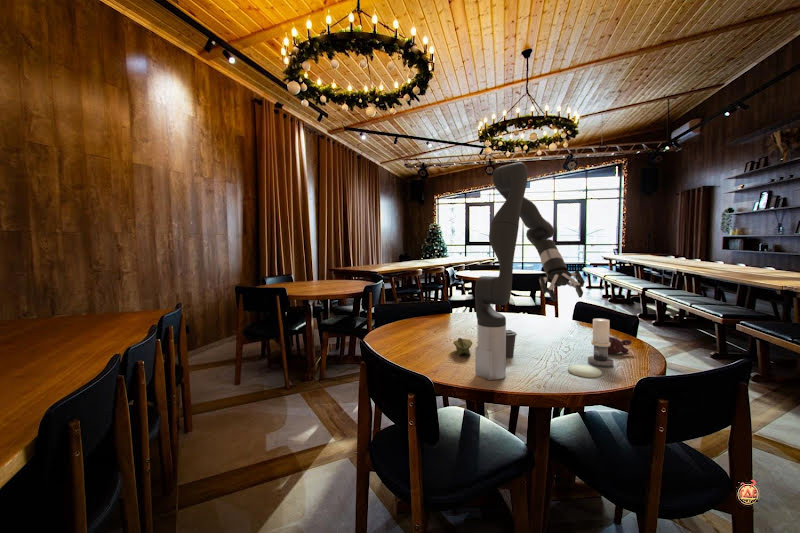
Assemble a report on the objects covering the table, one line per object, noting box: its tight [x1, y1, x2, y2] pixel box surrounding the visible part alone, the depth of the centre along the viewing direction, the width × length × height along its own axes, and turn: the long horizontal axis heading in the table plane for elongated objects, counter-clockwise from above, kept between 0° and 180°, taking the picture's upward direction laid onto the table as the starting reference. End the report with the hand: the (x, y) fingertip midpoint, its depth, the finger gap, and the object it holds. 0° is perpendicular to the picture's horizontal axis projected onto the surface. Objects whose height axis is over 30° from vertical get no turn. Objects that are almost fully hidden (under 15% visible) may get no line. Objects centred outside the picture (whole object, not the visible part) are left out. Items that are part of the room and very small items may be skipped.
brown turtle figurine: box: [608, 336, 633, 356], centre depth 136 cm, size 7×7×15 cm
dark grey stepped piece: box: [587, 345, 614, 368], centre depth 125 cm, size 8×8×7 cm
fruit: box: [452, 337, 473, 356], centre depth 138 cm, size 11×12×7 cm
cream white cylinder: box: [591, 318, 611, 347], centre depth 124 cm, size 6×6×9 cm
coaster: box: [567, 364, 602, 379], centre depth 117 cm, size 10×10×1 cm
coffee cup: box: [506, 329, 518, 359], centre depth 135 cm, size 8×8×10 cm
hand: (568, 298), depth 121 cm, fingers open, 8 cm apart
